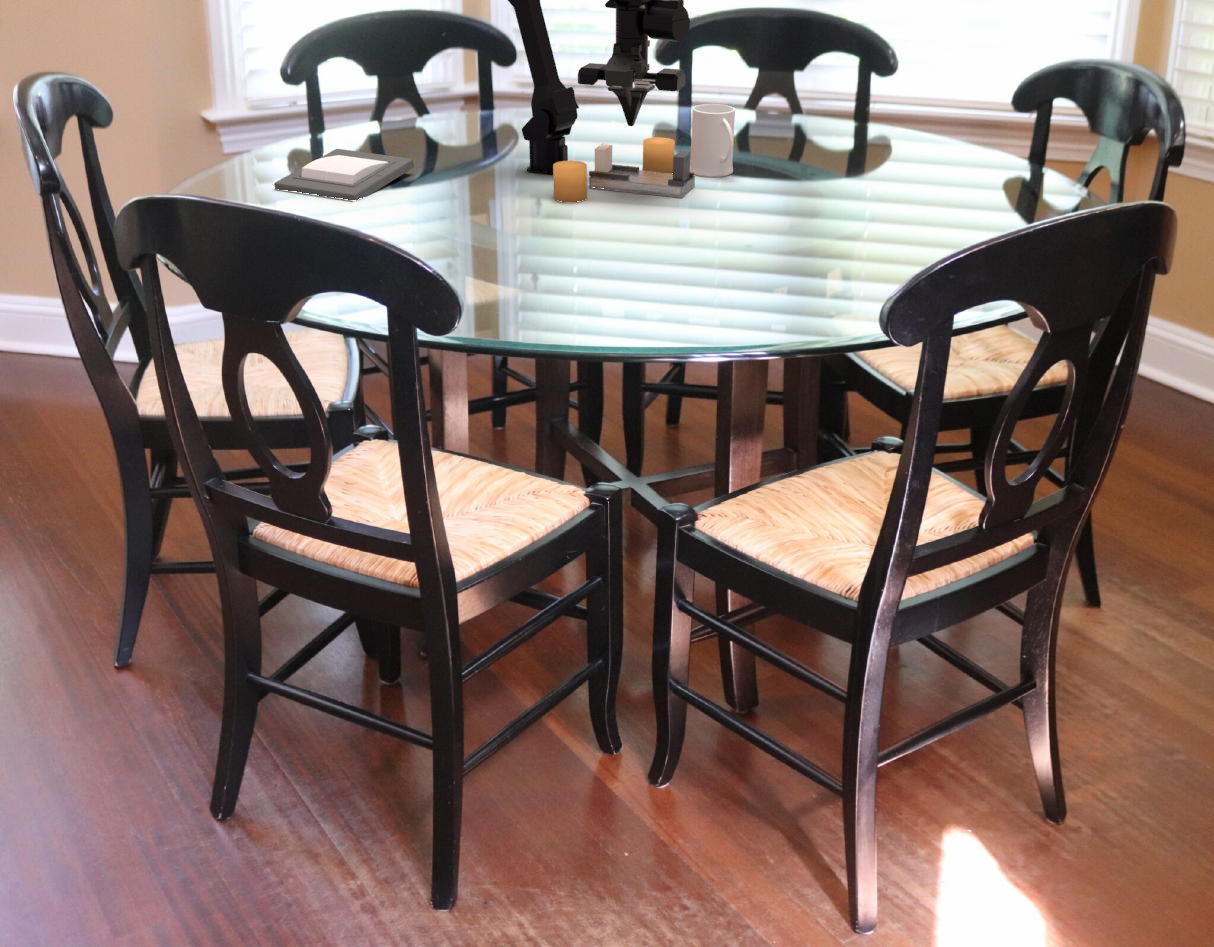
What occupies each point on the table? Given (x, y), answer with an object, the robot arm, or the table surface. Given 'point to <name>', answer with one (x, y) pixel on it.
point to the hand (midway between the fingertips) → (631, 125)
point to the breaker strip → (641, 181)
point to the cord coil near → (570, 181)
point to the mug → (712, 140)
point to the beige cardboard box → (603, 158)
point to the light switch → (346, 174)
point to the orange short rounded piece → (658, 154)
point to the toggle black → (681, 166)
